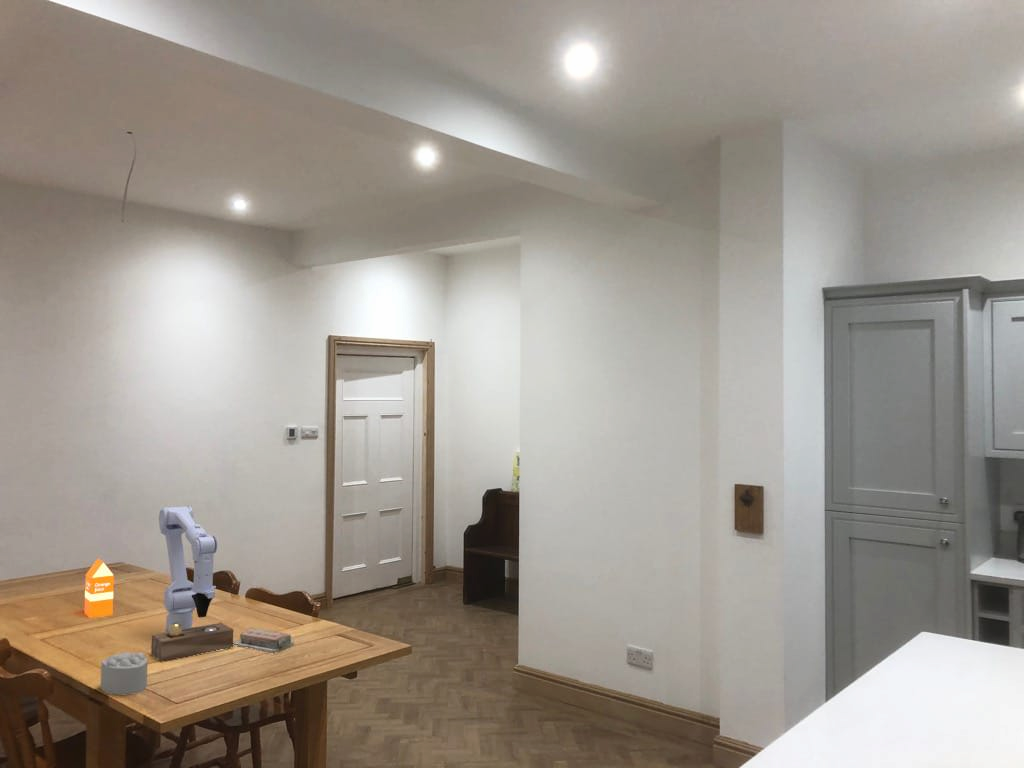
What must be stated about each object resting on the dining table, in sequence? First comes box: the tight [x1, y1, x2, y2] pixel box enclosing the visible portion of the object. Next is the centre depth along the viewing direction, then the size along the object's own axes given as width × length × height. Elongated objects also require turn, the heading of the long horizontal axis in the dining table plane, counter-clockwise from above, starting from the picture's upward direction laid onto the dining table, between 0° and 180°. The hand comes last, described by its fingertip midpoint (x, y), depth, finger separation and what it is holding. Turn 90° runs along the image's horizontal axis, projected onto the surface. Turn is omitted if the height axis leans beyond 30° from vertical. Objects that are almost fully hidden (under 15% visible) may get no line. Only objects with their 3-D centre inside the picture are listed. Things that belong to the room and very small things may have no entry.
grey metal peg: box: [205, 627, 216, 632], centre depth 248 cm, size 4×4×6 cm
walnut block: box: [150, 622, 234, 662], centre depth 245 cm, size 10×22×6 cm, turn 132°
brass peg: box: [169, 622, 182, 638], centre depth 241 cm, size 4×4×6 cm
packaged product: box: [233, 627, 295, 654], centre depth 252 cm, size 18×5×10 cm
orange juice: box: [84, 558, 115, 619], centre depth 286 cm, size 8×9×20 cm
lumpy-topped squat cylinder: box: [100, 651, 149, 695], centre depth 212 cm, size 10×13×9 cm
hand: (202, 616), depth 247 cm, fingers closed
